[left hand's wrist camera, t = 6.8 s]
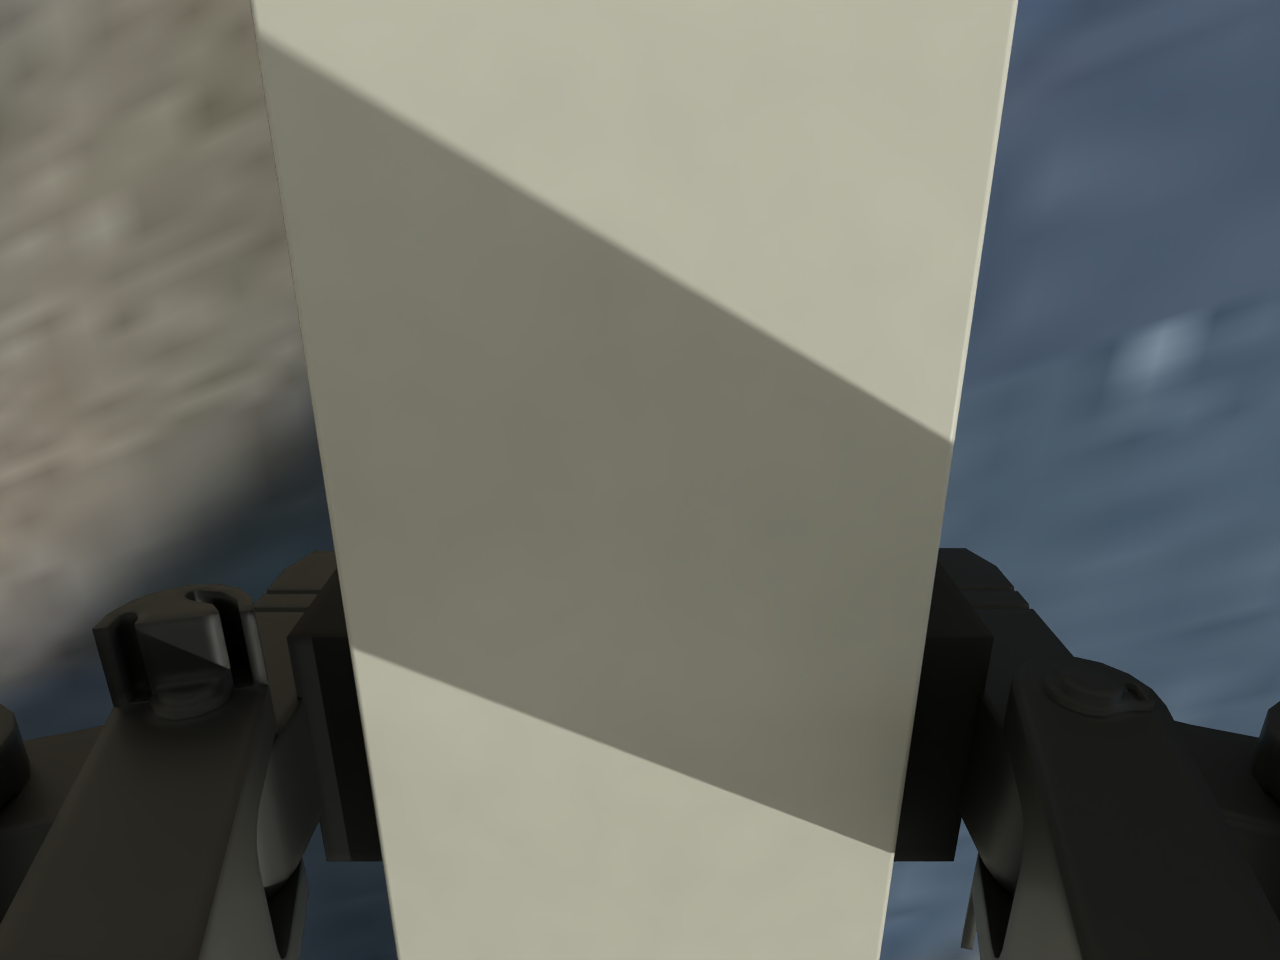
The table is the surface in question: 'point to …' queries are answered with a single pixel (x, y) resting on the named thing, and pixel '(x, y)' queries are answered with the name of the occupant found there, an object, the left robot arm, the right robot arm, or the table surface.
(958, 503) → the table surface
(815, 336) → the bar
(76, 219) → the table surface
